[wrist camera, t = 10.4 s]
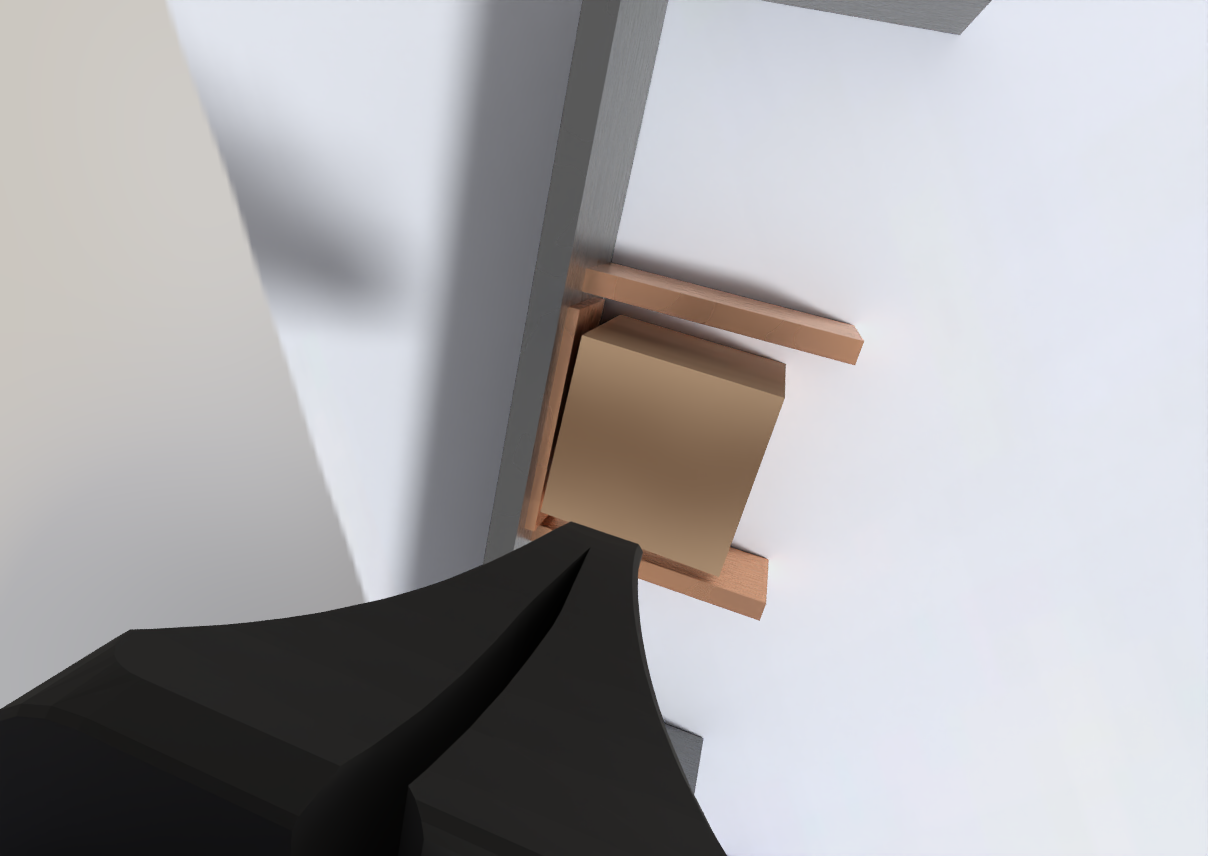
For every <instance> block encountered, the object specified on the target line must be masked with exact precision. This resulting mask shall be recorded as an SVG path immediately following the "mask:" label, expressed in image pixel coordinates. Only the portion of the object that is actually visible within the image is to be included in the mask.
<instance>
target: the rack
mask: <svg viewBox="0 0 1208 856" xmlns="http://www.w3.org/2000/svg"><path fill="white" fill-rule="evenodd" d="M764 1H769V2H775V3H781V4H786V5H792V6H798V7H804V8H809V9H815V10H821V11H826V12H832V13H838V14H844V15H849V16H855V17H861V18H866V19H872V20H878V21H884V22H889V23H895V24H901V25H907V26H912V27H918V28H924V29H929V30H935V31H941V32H947V33H952V34H958V35H960V34H961V33H962V32H963V31H964V30H965V29H966V28H967V27H968V26H969V24H970V23H971V22H972V21H973V20H974V19H975V18H976V17H977V16H978V15H979V14H980V12H981V11H982V10H983V9H984V8H985V7H986V6H987V5H988V4H989V3H990V2H991V0H764ZM667 3H668V0H583V1H582V7H581V13H580V18H579V24H578V30H577V35H576V41H575V47H574V52H573V58H572V64H571V69H570V75H569V81H568V86H567V92H566V98H565V103H564V109H563V115H562V120H561V126H560V132H559V137H558V143H557V149H556V154H555V160H554V166H553V171H552V177H551V183H550V188H549V194H548V200H547V205H546V211H545V217H544V222H543V228H542V234H541V239H540V245H539V251H538V256H537V262H536V268H535V273H534V279H533V285H532V290H531V296H530V302H529V307H528V313H527V319H526V324H525V330H524V336H523V341H522V347H521V353H520V358H519V364H518V370H517V375H516V381H515V387H514V392H513V398H512V404H511V409H510V415H509V421H508V426H507V432H506V438H505V443H504V449H503V455H502V460H501V466H500V472H499V477H498V483H497V489H496V494H495V500H494V506H493V511H492V517H491V523H490V528H489V534H488V540H487V545H486V551H485V557H484V562H483V565H484V564H486V563H488V562H491V561H493V560H495V559H497V558H499V557H501V556H503V555H505V554H507V553H510V552H512V551H514V550H516V549H518V548H520V547H522V546H524V545H526V544H528V543H530V542H532V541H533V540H535V539H537V538H539V537H541V536H543V535H545V534H547V533H549V532H551V531H553V530H554V529H556V528H558V527H560V526H563V525H565V524H567V523H569V522H567V521H564V520H561V519H559V518H556V517H553V516H550V515H548V514H545V513H542V512H541V508H542V503H543V499H544V495H545V491H546V486H547V482H548V478H549V474H550V469H551V465H552V461H553V457H554V452H555V448H556V444H557V440H558V435H559V431H560V427H561V423H562V418H563V414H564V410H565V406H566V401H567V397H568V393H569V389H570V384H571V380H572V376H573V372H574V367H575V363H576V359H577V355H578V350H579V346H580V342H581V338H582V335H583V334H585V333H587V332H589V331H591V330H593V329H595V328H596V327H598V326H599V325H600V321H601V316H602V311H603V307H604V302H605V299H603V297H604V298H608V299H612V300H615V301H619V302H623V303H626V304H630V305H634V306H638V307H641V308H645V309H649V310H652V311H656V312H660V313H663V314H667V315H671V316H675V317H678V318H682V319H686V320H689V321H693V322H697V323H700V324H704V325H708V326H712V327H715V328H719V329H723V330H726V331H730V332H734V333H737V334H741V335H745V336H749V337H752V338H756V339H760V340H763V341H767V342H771V343H774V344H778V345H782V346H786V347H789V348H793V349H797V350H800V351H804V352H808V353H811V354H815V355H819V356H823V357H826V358H830V359H834V360H837V361H841V362H845V363H849V364H852V365H855V364H856V361H857V359H858V356H859V353H860V351H861V348H862V345H863V343H864V340H863V339H862V337H861V336H860V334H859V333H858V331H857V329H856V328H855V326H854V325H850V324H846V323H843V322H839V321H835V320H831V319H827V318H823V317H819V316H816V315H812V314H808V313H804V312H800V311H796V310H792V309H789V308H785V307H781V306H777V305H773V304H769V303H765V302H762V301H758V300H754V299H750V298H746V297H742V296H738V295H735V294H731V293H727V292H723V291H719V290H715V289H711V288H708V287H704V286H700V285H696V284H692V283H688V282H684V281H681V280H677V279H673V278H669V277H665V276H661V275H657V274H654V273H650V272H646V271H642V270H638V269H634V268H630V267H627V266H623V265H619V264H615V263H611V261H612V256H613V251H614V247H615V242H616V238H617V233H618V229H619V224H620V219H621V215H622V210H623V206H624V201H625V196H626V192H627V187H628V183H629V178H630V173H631V169H632V164H633V160H634V155H635V150H636V146H637V141H638V137H639V132H640V127H641V123H642V118H643V114H644V109H645V104H646V100H647V95H648V91H649V86H650V82H651V77H652V72H653V68H654V63H655V59H656V54H657V49H658V45H659V40H660V36H661V31H662V26H663V22H664V17H665V13H666V8H667ZM642 551H643V555H642V559H641V562H640V566H639V570H638V578H639V579H642V580H645V581H648V582H650V583H653V584H656V585H659V586H662V587H665V588H668V589H670V590H673V591H676V592H679V593H682V594H685V595H688V596H690V597H693V598H696V599H699V600H702V601H705V602H708V603H711V604H713V605H716V606H719V607H722V608H725V609H728V610H731V611H733V612H736V613H739V614H742V615H745V616H748V617H751V618H754V619H756V620H759V621H760V618H761V615H762V613H763V610H764V607H765V605H766V595H767V578H768V561H769V560H768V559H765V558H762V557H759V556H756V555H753V554H750V553H747V552H744V551H741V550H738V549H735V548H732V547H730V548H729V551H728V554H727V557H726V559H725V562H724V565H723V568H722V570H721V573H720V576H719V577H717V576H715V575H712V574H709V573H707V572H704V571H701V570H698V569H696V568H693V567H690V566H687V565H685V564H682V563H679V562H676V561H674V560H671V559H668V558H665V557H663V556H660V555H657V554H654V553H652V552H649V551H646V550H644V549H642ZM664 724H665V723H664ZM665 726H666V729H667V732H668V735H669V738H670V740H671V742H672V745H673V747H674V749H675V752H676V754H677V756H678V759H679V761H680V764H681V766H682V768H683V771H684V773H685V775H686V778H687V780H688V782H689V785H690V787H691V790H692V792H693V794H694V793H695V786H696V780H697V774H698V768H699V762H700V756H701V750H702V744H703V738H701V737H698V736H696V735H693V734H690V733H688V732H685V731H683V730H680V729H678V728H675V727H672V726H670V725H667V724H665Z"/></svg>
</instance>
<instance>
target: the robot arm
mask: <svg viewBox="0 0 1208 856" xmlns="http://www.w3.org/2000/svg"><path fill="white" fill-rule="evenodd" d="M642 555H643V551H642V549H641V547H640V545H639V544H637V543H634V542H631V541H628V540H625V539H622V538H619V537H616V536H613V535H610V534H607V533H604V532H602V531H599V530H596V529H593V528H590V527H587V526H584V525H581V524H578V523H575V522H572V521H571V522H569V523H567V524H565V525H563V526H560V527H558V528H556V529H554V530H553V531H551V532H549V533H547V534H545V535H543V536H541V537H539V538H537V539H535V540H533V541H532V542H530V543H528V544H526V545H524V546H522V547H520V548H518V549H516V550H514V551H512V552H510V553H507V554H505V555H503V556H501V557H499V558H497V559H495V560H493V561H491V562H488V563H486V564H484V565H481V566H479V567H476V568H474V569H472V570H469V571H467V572H464V573H462V574H460V575H457V576H455V577H452V578H450V579H447V580H444V581H441V582H439V583H436V584H433V585H430V586H427V587H424V588H420V589H417V590H413V591H410V592H407V593H403V594H400V595H397V596H393V597H389V598H385V599H381V600H377V601H372V602H368V603H363V604H358V605H354V606H350V607H345V608H340V609H335V610H331V611H326V612H321V613H315V614H309V615H302V616H295V617H289V618H282V619H274V620H265V621H258V622H249V623H238V624H228V625H213V626H196V627H178V628H161V629H137V630H136V629H135V630H129V631H127V632H125V633H123V634H122V635H120V636H118V637H117V638H115V639H113V640H112V641H110V642H109V643H107V644H105V645H104V646H102V647H100V648H99V649H97V650H95V651H94V652H92V653H91V654H89V655H88V656H86V657H84V658H83V659H81V660H79V661H78V662H77V663H75V664H73V665H71V666H70V667H68V668H66V669H65V670H63V671H62V672H60V673H58V674H57V675H55V676H53V677H52V678H50V679H48V680H47V681H45V682H44V683H42V684H41V685H39V686H37V687H36V688H34V689H32V690H31V691H29V692H27V693H26V694H24V695H23V696H21V697H19V698H18V699H16V700H15V701H13V702H11V703H10V704H8V705H6V706H5V707H3V708H2V709H0V856H727V855H726V853H725V852H724V850H723V848H722V847H721V845H720V843H719V842H718V840H717V838H716V836H715V835H714V833H713V831H712V829H711V827H710V825H709V823H708V821H707V819H706V817H705V815H704V813H703V811H702V809H701V807H700V805H699V803H698V801H697V800H696V798H695V796H694V794H693V792H692V790H691V787H690V785H689V782H688V780H687V778H686V775H685V773H684V771H683V768H682V766H681V764H680V761H679V759H678V756H677V754H676V752H675V749H674V747H673V745H672V742H671V740H670V738H669V735H668V732H667V729H666V726H665V724H664V721H663V718H662V715H661V712H660V709H659V706H658V702H657V699H656V695H655V692H654V689H653V685H652V681H651V677H650V673H649V669H648V665H647V660H646V655H645V650H644V644H643V639H642V632H641V625H640V615H639V604H638V570H639V566H640V562H641V559H642Z"/></svg>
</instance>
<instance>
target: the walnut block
mask: <svg viewBox="0 0 1208 856" xmlns="http://www.w3.org/2000/svg"><path fill="white" fill-rule="evenodd" d="M785 369H786V364H784V363H781V362H777V361H774V360H771V359H767V358H764V357H761V356H757V355H754V354H751V353H747V352H744V351H741V350H737V349H734V348H731V347H727V346H724V345H721V344H717V343H714V342H711V341H707V340H704V339H701V338H697V337H694V336H691V335H687V334H684V333H681V332H677V331H674V330H671V329H667V328H664V327H661V326H657V325H654V324H651V323H647V322H644V321H641V320H637V319H634V318H631V317H627V316H624V315H619V316H617V317H615V318H613V319H611V320H609V321H608V322H606V323H604V324H602V325H600V326H598V327H596V328H595V329H593V330H591V331H589V332H587V333H585V334H583V335H582V338H581V342H580V346H579V350H578V355H577V359H576V363H575V367H574V372H573V376H572V380H571V384H570V389H569V393H568V397H567V401H566V406H565V410H564V414H563V418H562V423H561V427H560V431H559V435H558V440H557V444H556V448H555V452H554V457H553V461H552V465H551V469H550V474H549V478H548V482H547V486H546V491H545V495H544V499H543V503H542V508H541V512H542V513H545V514H548V515H550V516H553V517H556V518H559V519H561V520H564V521H567V522H571V521H572V522H575V523H578V524H581V525H584V526H587V527H590V528H593V529H596V530H599V531H602V532H604V533H607V534H610V535H613V536H616V537H619V538H622V539H625V540H628V541H631V542H634V543H637V544H639V545H640V547H641V549H644V550H646V551H649V552H652V553H654V554H657V555H660V556H663V557H665V558H668V559H671V560H674V561H676V562H679V563H682V564H685V565H687V566H690V567H693V568H696V569H698V570H701V571H704V572H707V573H709V574H712V575H715V576H717V577H719V576H720V573H721V570H722V568H723V565H724V562H725V559H726V557H727V554H728V551H729V548H730V546H731V543H732V540H733V538H734V535H735V532H736V529H737V527H738V524H739V521H740V518H741V516H742V513H743V510H744V508H745V505H746V502H747V499H748V497H749V494H750V491H751V489H752V486H753V483H754V480H755V478H756V475H757V472H758V469H759V467H760V464H761V461H762V459H763V456H764V453H765V450H766V448H767V445H768V442H769V439H770V437H771V434H772V431H773V429H774V426H775V423H776V420H777V418H778V415H779V412H780V409H781V407H782V404H783V401H784V399H785Z"/></svg>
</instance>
